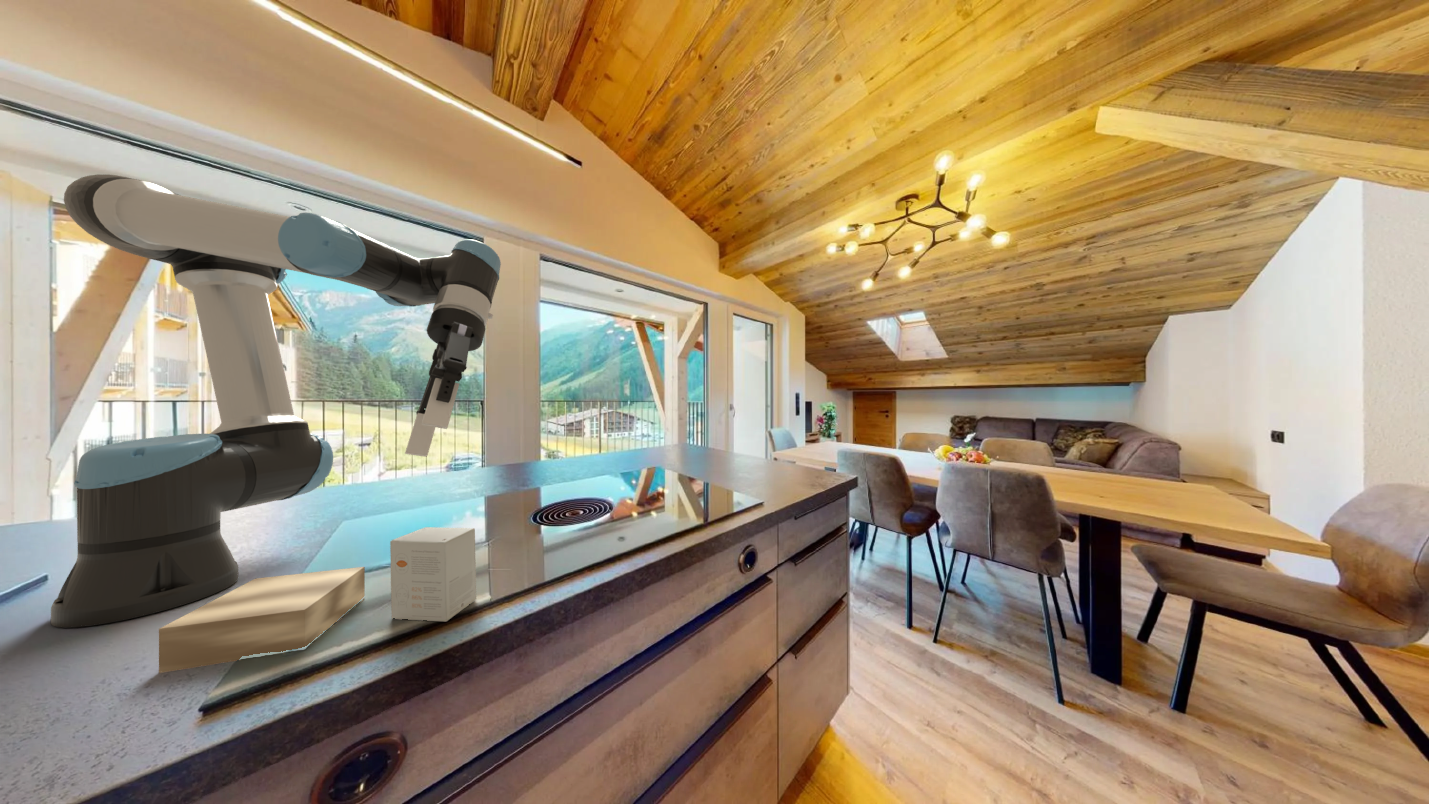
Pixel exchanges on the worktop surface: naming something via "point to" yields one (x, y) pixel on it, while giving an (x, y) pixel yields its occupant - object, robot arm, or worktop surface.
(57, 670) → the worktop surface
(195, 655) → the maple block
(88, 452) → the robot arm
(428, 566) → the small box
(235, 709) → the worktop surface
